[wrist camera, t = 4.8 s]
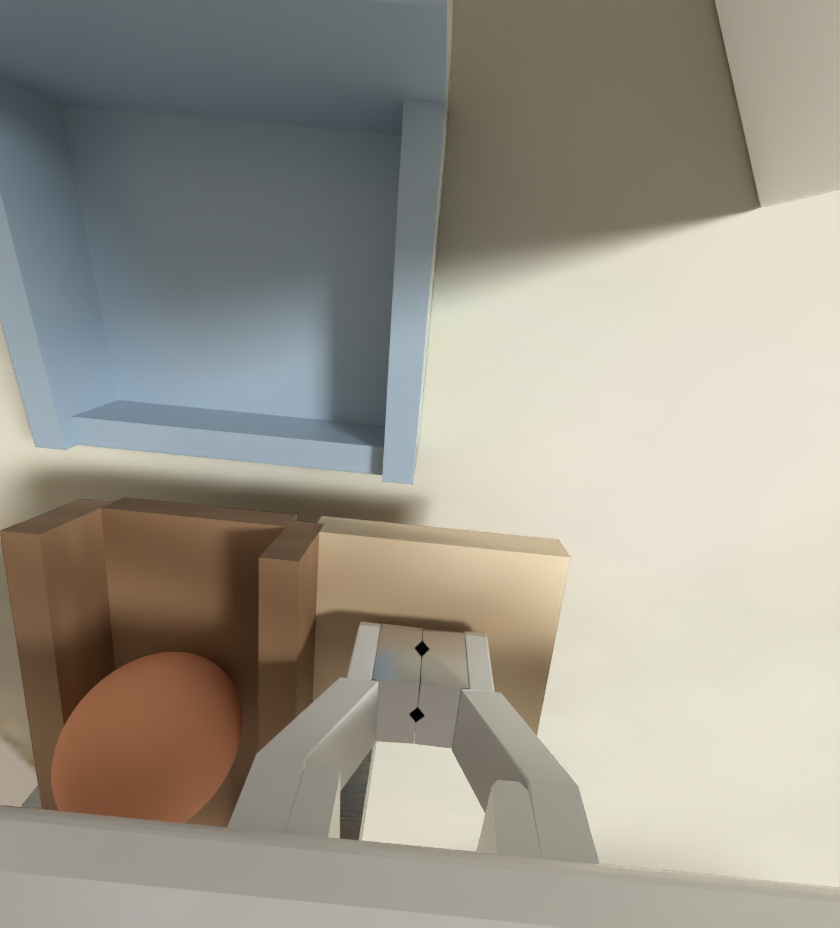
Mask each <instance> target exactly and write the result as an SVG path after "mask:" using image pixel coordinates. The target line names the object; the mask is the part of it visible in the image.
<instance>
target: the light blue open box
mask: <svg viewBox="0 0 840 928" xmlns="http://www.w3.org/2000/svg"><path fill="white" fill-rule="evenodd" d="M452 16H453V0H0V322H1V325H2V329H3V333H4V336H5V340H6V343H7V347H8V350H9V354H10V358H11V361H12V365H13V368H14V372H15V375H16V379H17V383H18V386H19V390H20V393H21V397H22V400H23V404H24V408H25V411H26V415H27V418H28V422H29V425H30V429H31V433H32V436H33V440H34V443H35V447H40V448H50V449H60V450H67V449H69V448H71V447H74V446H76V445H84V446H94V447H104V448H114V449H124V450H134V451H144V452H154V453H164V454H174V455H185V456H195V457H205V458H215V459H225V460H235V461H245V462H255V463H265V464H275V465H285V466H295V467H305V468H316V469H326V470H336V471H346V472H356V473H366V474H376V475H382V482H392V483H402V484H412V485H413V479H414V473H415V466H416V460H417V454H418V447H419V438H420V426H421V415H422V404H423V393H424V382H425V371H426V360H427V349H428V337H429V326H430V315H431V304H432V293H433V282H434V271H435V259H436V248H437V237H438V226H439V215H440V204H441V193H442V181H443V170H444V159H445V148H446V137H447V126H448V115H449V103H450V79H451V47H452Z"/></svg>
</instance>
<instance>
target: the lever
mask: <svg viewBox="0 0 840 928" xmlns="http://www.w3.org/2000/svg"><path fill="white" fill-rule="evenodd" d="M0 535H1V542H2V549H3V555H4V562H5V568H6V575H7V582H8V588H9V595H10V602H11V608H12V615H13V621H14V628H15V635H16V641H17V648H18V655H19V661H20V668H21V674H22V681H23V688H24V694H25V701H26V708H27V714H28V721H29V727H30V734H31V741H32V747H33V754H34V761H35V767H36V774H37V780H38V787H39V794H40V800H41V807H42V809H45V810H55V811H59V810H58V807H57V805H56V803H55V799H54V796H53V791H52V784H51V769H52V760H53V756H54V751H55V748H56V745H57V742H58V739H59V736H60V734H61V732H62V730H63V727H64V725H65V723H66V722H67V720H68V718H69V717H70V715H71V714H72V712H73V711H74V709H75V708H76V706H77V705H78V704H79V702H80V701H81V700H82V699H83V698H84V697H85V695H86V694H87V693H88V692H89V691H90V690H91V689H92V688H93V687H94V686H95V685H97V684H98V683H99V682H100V681H101V680H102V679H103V678H105V677H106V676H108V675H109V674H111V673H112V672H114V671H115V670H117V669H118V668H120V667H122V666H124V665H125V664H127V663H129V662H132V661H134V660H137V659H139V658H142V657H144V656H148V655H152V654H157V653H163V652H186V653H192V654H196V655H199V656H202V657H204V658H206V659H208V660H210V661H212V662H214V663H215V664H216V665H218V666H219V667H220V668H221V669H222V670H223V671H224V672H225V673H226V674H227V675H228V676H229V678H230V679H231V680H232V682H233V684H234V686H235V688H236V690H237V693H238V695H239V698H240V702H241V707H242V733H241V740H240V744H239V748H238V752H237V754H236V757H235V760H234V762H233V764H232V766H231V768H230V771H229V773H228V775H227V777H226V778H225V780H224V781H223V783H222V784H221V786H220V787H219V789H218V790H217V791H216V793H215V794H214V795H213V796H212V798H211V799H210V800H209V801H208V802H207V803H206V804H205V805H204V806H203V807H202V808H201V809H200V810H199V811H198V812H197V813H196V814H195V815H194V816H192V817H191V818H190V819H189V820H187V821H186V822H185V823H187V824H197V825H207V826H217V827H228V824H229V822H230V819H231V817H232V814H233V812H234V809H235V807H236V804H237V801H238V799H239V796H240V794H241V791H242V789H243V786H244V784H245V781H246V779H247V776H248V774H249V771H250V769H251V766H252V764H253V761H254V759H255V756H256V754H257V753H258V752H259V751H260V750H261V749H262V748H264V747H265V746H266V745H267V744H268V743H269V742H270V741H271V740H272V739H273V738H274V737H275V736H277V735H278V734H279V733H280V732H281V731H282V730H283V729H284V728H285V727H286V726H287V725H289V724H290V723H291V722H292V721H293V720H294V719H295V718H296V717H297V716H298V715H299V714H300V713H302V712H303V711H304V710H305V709H306V708H307V707H308V706H309V705H310V704H311V703H312V702H314V701H315V700H316V699H317V698H318V697H319V696H320V695H321V694H322V693H323V692H324V691H325V690H327V689H328V688H329V687H330V686H331V685H332V684H333V683H334V682H335V681H336V680H337V679H339V678H346V676H347V672H348V668H349V664H350V659H351V655H352V651H353V647H354V643H355V639H356V635H357V630H358V626H359V624H360V622H361V621H362V622H370V623H378V624H382V623H383V624H391V625H399V626H408V627H416V628H429V629H440V630H452V631H463V632H464V631H466V632H479V633H485V634H486V636H487V641H488V648H489V656H490V663H491V670H492V678H493V685H494V692H499V693H502V695H503V696H504V697H505V698H506V699H507V701H508V702H509V703H510V704H511V705H512V707H513V708H514V709H515V710H516V712H517V713H518V714H519V715H520V716H521V718H522V719H523V720H524V721H525V722H526V724H527V725H528V726H529V727H530V729H531V730H532V731H533V732H534V733H535V735H536V736H537V731H538V726H539V721H540V716H541V710H542V705H543V700H544V695H545V690H546V684H547V679H548V674H549V669H550V663H551V658H552V653H553V648H554V643H555V637H556V632H557V627H558V622H559V617H560V611H561V606H562V601H563V596H564V590H565V585H566V580H567V575H568V570H569V564H570V559H571V557H570V555H569V554H568V553H567V551H566V550H565V548H564V547H563V545H562V544H561V542H560V541H559V540H557V539H547V538H537V537H527V536H517V535H507V534H498V533H488V532H478V531H468V530H458V529H448V528H438V527H428V526H418V525H408V524H398V523H388V522H379V521H369V520H359V519H349V518H339V517H329V516H321V518H320V519H319V520H318V522H317V523H311V522H301V521H297V515H294V514H284V513H274V512H264V511H255V510H245V509H235V508H225V507H215V506H205V505H195V504H185V503H175V502H165V501H155V500H146V499H136V498H126V497H125V498H122V499H120V500H118V501H115V502H103V501H93V500H84V499H80V500H78V501H75V502H72V503H70V504H67V505H65V506H62V507H60V508H57V509H55V510H52V511H49V512H47V513H44V514H42V515H39V516H37V517H34V518H32V519H29V520H26V521H24V522H21V523H19V524H16V525H14V526H11V527H8V528H6V529H3V530H1V531H0ZM422 632H423V631H422Z"/></svg>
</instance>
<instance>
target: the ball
mask: <svg viewBox="0 0 840 928" xmlns="http://www.w3.org/2000/svg"><path fill="white" fill-rule="evenodd" d="M241 733H242V707H241V702H240V698H239V695H238V693H237V690H236V688H235V686H234V684H233V682H232V680H231V679H230V678H229V676H228V675H227V674H226V673H225V672H224V671H223V670H222V669H221V668H220V667H219V666H218V665H216V664H215V663H214V662H212V661H210V660H208V659H206V658H204V657H202V656H199V655H196V654H192V653H186V652H163V653H157V654H152V655H148V656H144V657H142V658H139V659H137V660H134V661H132V662H129V663H127V664H125V665H124V666H122V667H120V668H118V669H117V670H115V671H114V672H112V673H111V674H109V675H108V676H106V677H105V678H103V679H102V680H101V681H100V682H99V683H98V684H97V685H95V686H94V687H93V688H92V689H91V690H90V691H89V692H88V693H87V694H86V695H85V697H84V698H83V699H82V700H81V701H80V702H79V704H78V705H77V706H76V708H75V709H74V711H73V712H72V714H71V715H70V717H69V718H68V720H67V722H66V723H65V725H64V727H63V730H62V732H61V734H60V736H59V739H58V742H57V745H56V748H55V751H54V756H53V760H52V769H51V784H52V791H53V796H54V799H55V803H56V805H57V807H58V810H59V811H65V812H75V813H85V814H95V815H106V816H116V817H126V818H136V819H146V820H156V821H166V822H177V823H185V822H186V821H187V820H189V819H190V818H191V817H192V816H194V815H195V814H196V813H197V812H198V811H199V810H200V809H201V808H202V807H203V806H204V805H205V804H206V803H207V802H208V801H209V800H210V799H211V798H212V796H213V795H214V794H215V793H216V791H217V790H218V789H219V787H220V786H221V784H222V783H223V781H224V780H225V778H226V777H227V775H228V773H229V771H230V768H231V766H232V764H233V762H234V760H235V757H236V754H237V752H238V748H239V744H240V740H241Z"/></svg>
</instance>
